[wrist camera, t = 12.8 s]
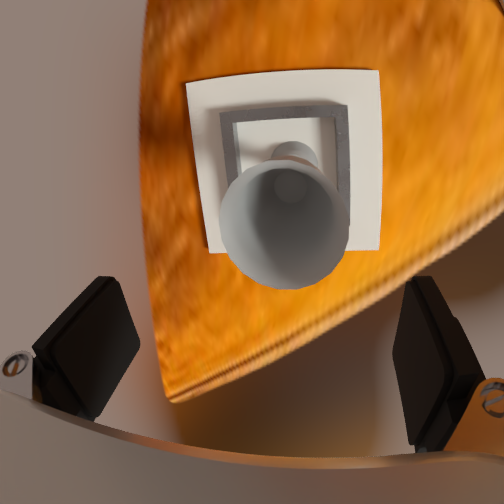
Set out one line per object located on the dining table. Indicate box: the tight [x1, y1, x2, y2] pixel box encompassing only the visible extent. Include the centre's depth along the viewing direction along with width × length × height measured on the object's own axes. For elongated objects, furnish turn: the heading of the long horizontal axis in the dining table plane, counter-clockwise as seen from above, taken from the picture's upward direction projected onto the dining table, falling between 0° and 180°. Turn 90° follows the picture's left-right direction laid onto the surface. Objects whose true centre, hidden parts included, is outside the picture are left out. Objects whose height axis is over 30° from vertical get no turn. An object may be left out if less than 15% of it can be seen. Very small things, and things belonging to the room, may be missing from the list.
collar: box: [219, 105, 350, 226], centre depth 32 cm, size 12×12×2 cm
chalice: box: [219, 141, 349, 289], centre depth 24 cm, size 7×7×18 cm
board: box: [186, 69, 382, 253], centre depth 33 cm, size 20×20×1 cm
